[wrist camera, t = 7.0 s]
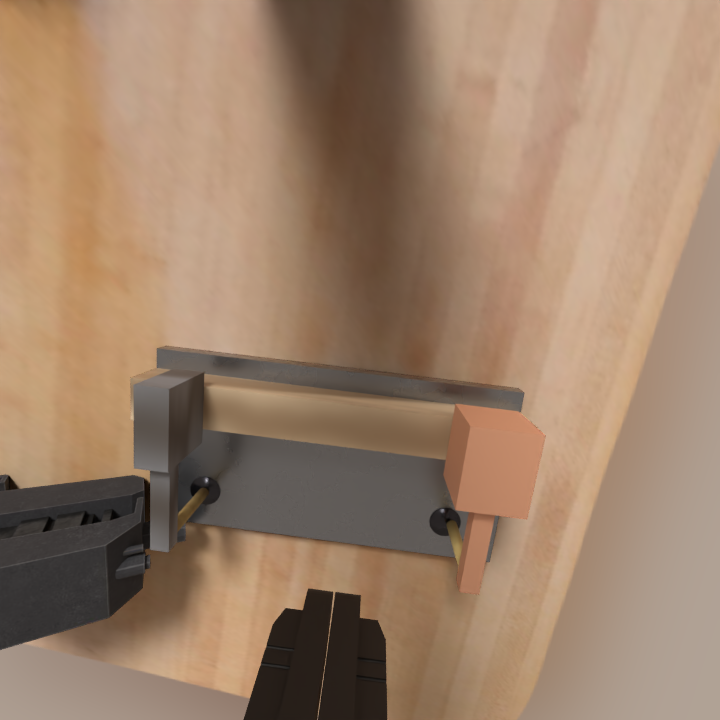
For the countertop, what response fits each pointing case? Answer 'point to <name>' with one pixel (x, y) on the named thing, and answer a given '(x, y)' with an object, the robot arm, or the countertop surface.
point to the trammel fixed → (263, 427)
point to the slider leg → (488, 479)
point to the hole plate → (326, 464)
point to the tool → (69, 554)
